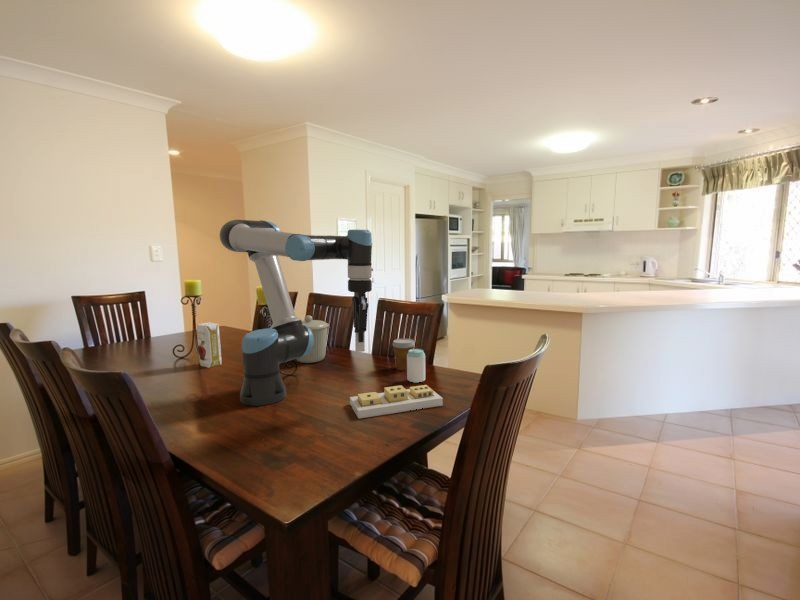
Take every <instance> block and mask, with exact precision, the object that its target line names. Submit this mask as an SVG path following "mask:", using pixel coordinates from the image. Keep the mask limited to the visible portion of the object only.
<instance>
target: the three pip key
mask: <svg viewBox="0 0 800 600" xmlns="http://www.w3.org/2000/svg"><path fill="white" fill-rule="evenodd" d="M409 389H410V394H411V395H412V396H413V397H414V398H415V399H419V398H426V397H433V391H434V389H432V388H431V387H430V386H429V385H427V384H424V385H423V384H422V385H416V386H415V385H414V386H410V387H409Z"/></svg>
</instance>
